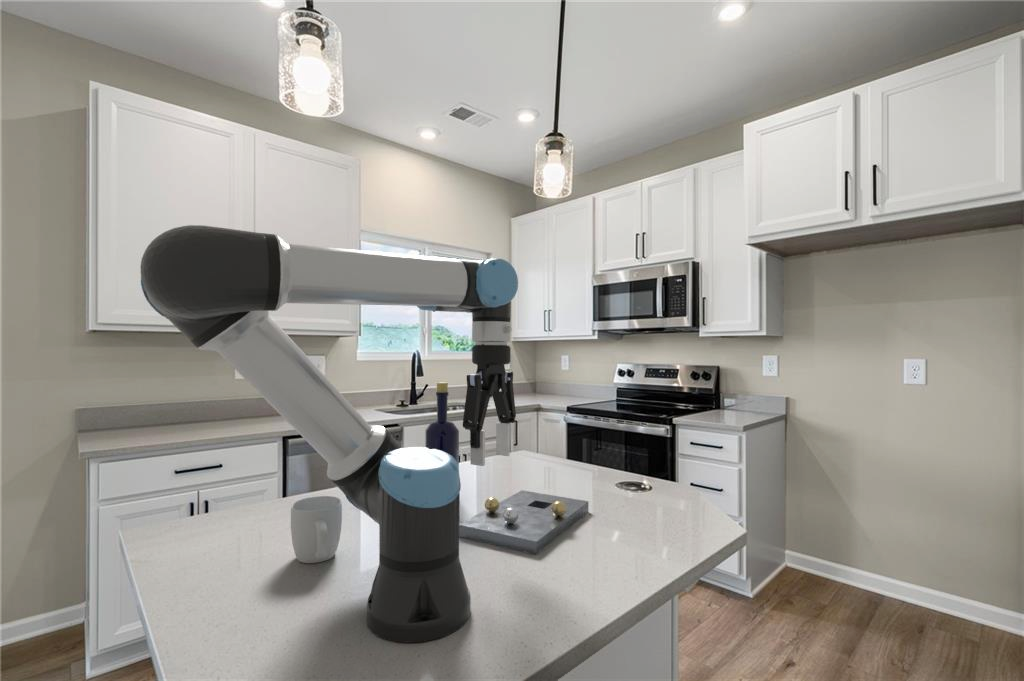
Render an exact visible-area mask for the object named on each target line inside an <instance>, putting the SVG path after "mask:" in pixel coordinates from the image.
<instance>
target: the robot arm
mask: <svg viewBox="0 0 1024 681" xmlns="http://www.w3.org/2000/svg"><path fill="white" fill-rule="evenodd" d="M518 277H519V276H518V274H517V271H516V269H515V267H513V265H512V264H511V263H510V262H509V261H507V260H505V259H503V258H499V257H498V258H486V259H483V260H473V259H472V260H471V259H457V258H450V257H438V256H426V255H418V254H416V255H415V254H404V253H394V252H385V251H384V252H383V251H372V250H371V251H370V250H360V249H347V248H336V247H328V246H327V247H326V246H315V245H304V244H293V243H286V242H285V241H284V240H283V239H282V238H281V237H280V236H278V234H275V233H262V232H256V231H248V230H240V229H234V228H228V227H227V228H226V227H225V228H224V227H219V226H218V227H217V226H211V225H210V226H209V225H202V224H201V225H199V224H198V225H196V224H195V225H193V224H189V225H183V226H178V227H173V228H171V229H167V230H166V231H163V232H162V233H161V234H159V235H158V236H156V237H155V238H153V240H152V241H151V242H150V243H149V244H148V245H147V247H146V249H145V250H144V252H143V255H142V257H141V261H140V286H141V290H142V293H143V296H144V297H145V300H146V301H147V303H148V304H149V305H150V306H151V308H153V310H154V311H155V312H157V313H158V314H159V315H160V316H162V317H165V319H167V320H169V321H170V322H171V323H172V325H173V326H174V327H175V328H177V330H179V332H181V333H182V334H183V335H184V336H185V337H186V338H187V339H188V340H189V342H190V343H192V344H193V346H194V347H196V348H197V349H198V350H202V351H203V350H204V351H213V352H217V353H218V354H219V355H221V357H223V359H224V360H225V361H226V362H227V363H228V364H230V366H231V367H232V368H233V369H234V370H235V371H237V373H238V374H239V375H240V376H241V377H242V378H243V379H244V380H245V381H246V382H247V383H248V384H249V385H250V386H251V387H252V388H253V389H254V390H255V391H256V392H257V393H258V394H259V395H261V397H262V398H263V399H264V400H265V401H266V402H267V403H268V404H269V405H270V406H271V407H272V408H273V409H274V410H275V411H276V412H277V413H278V414H279V415H280V416H281V417H282V418H283V419H284V420H285V421H286V422H287V423H288V424H289V425H290V426H291V427H292V428H293V429H294V430H295V431H296V432H297V433H298V435H300V436H301V437H302V438H303V439H304V440H305V441H306V442H307V444H309V446H311V447H312V448H313V450H315V451H316V452H317V453H318V455H320V456H321V457H322V458H323V460H325V461H326V462H327V467H326V468H327V470H326V475H327V477H328V479H329V480H330V481H331V482H332V483H333V484H334V485H335V486H336V487H337V488H338V489H340V491H341V493H343V494H344V496H345V498H346V500H348V502H349V503H350V504H352V505H353V507H355V508H356V509H358V510H360V511H362V512H363V513H364V514H365V515H367V516H368V517H369V518H371V519H372V520H373V521H374V522H375V523H377V524H378V527H379V533H378V534H379V539H378V540H379V542H378V543H379V544H378V546H379V548H378V549H379V553H378V554H379V558H378V560H379V563H378V567H377V570H376V572H375V576H374V580H373V583H372V586H371V590H370V593H369V596H368V598H367V602H366V610H365V611H366V613H365V614H366V616H365V617H366V618H365V620H366V625H367V627H368V629H369V630H370V631H371V632H372V633H374V635H376V636H378V637H379V638H382V639H384V640H388V641H392V642H396V643H398V642H399V643H422V642H427V641H429V642H430V641H433V640H437V639H440V638H443V637H445V636H448V635H450V634H452V633H454V632H455V631H457V630H458V629H460V628H461V627H462V626H464V624H466V622H467V621H468V619H469V617H470V615H471V603H472V602H471V599H472V598H471V592H470V589H469V587H468V584H467V581H466V578H465V574H464V571H463V567H462V563H461V560H460V537H459V524H460V496H461V495H460V491H461V488H462V484H461V478H460V466H459V467H458V463H457V462H456V460H455V459H454V458H453V457H452V456H451V455H450V454H448V453H446V452H444V451H441V450H437V449H429V448H426V447H425V446H408V447H407V446H406V447H402V445H401V444H400V443H399V442H398V441H397V440H396V439H395V437H394V436H393V435H392V433H390V432H389V431H388V430H387V429H386V427H384V425H380V424H377V425H376V424H370V423H368V422H367V421H366V419H365V418H364V417H363V416H362V415H361V414H360V412H358V411H357V410H356V408H354V406H353V405H352V404H351V403H350V402H349V401H348V400H347V399H346V397H345V396H344V395H343V394H342V393H341V392H340V391H339V390H338V389H337V388H336V386H335V385H334V384H333V383H332V382H331V381H330V380H329V379H328V378H327V376H325V374H324V373H323V372H322V371H321V370H320V369H319V368H318V367H317V365H316V364H315V363H313V360H311V359H310V358H309V356H307V355H306V353H305V352H304V351H303V350H302V349H301V348H300V347H299V346H298V345H297V343H296V342H294V341H293V339H292V338H291V337H290V336H289V335H288V333H286V331H284V329H283V328H282V327H281V326H280V325H279V324H278V323H277V321H275V319H274V318H273V317H272V316H271V315H270V312H276V311H278V310H279V309H281V308H282V307H283V306H284V305H285V304H305V305H306V304H310V305H313V304H314V305H352V306H353V305H355V306H356V305H357V306H358V305H359V306H360V305H364V306H366V305H367V306H408V307H409V306H413V307H415V306H416V307H417V308H418V309H419V310H422V311H432V312H433V313H435V312H447V313H448V312H449V313H451V312H452V313H471V318H472V320H471V322H472V324H471V326H472V327H471V341H472V343H474V345H473V346H472V347H471V362H472V363H473V364H474V365H476V366H477V368H476V372H475V373H474V374H472V373H471V374H470V373H469V374H468V373H467V375H466V386H467V387H466V394H465V402H464V409H463V410H464V411H463V419H462V427H463V428H464V429H465V430H468V431H469V432H470V433H469V440H470V442H469V444H470V446H469V447H470V465H473V466H480V467H484V466H485V465H486V430H485V429H483V426H484V423H485V419H486V415H487V411H488V406H489V404H490V403H489V402H490V398H492V399H493V402H494V406H495V411H496V415H497V419H498V422H495V424H496V426H495V427H496V430H495V434H496V436H495V437H496V438H495V455H496V456H501V457H510V449H511V448H510V444H511V443H510V442H511V441H510V440H511V439H510V434H511V433H510V427H511V426H510V425H511V424H514V423H515V422H516V418H517V415H516V412H517V411H516V403H515V394H514V393H515V392H514V372H513V371H509V370H508V371H507V370H506V367H505V365H510V363H511V346H510V345H508V343H510V342H511V331H512V327H511V316H512V315H511V312H512V311H511V308H512V305H511V304H512V300H513V299H515V296H516V295H517V292H518V288H519V278H518Z"/></svg>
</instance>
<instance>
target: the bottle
mask: <svg viewBox="0 0 1024 681" xmlns="http://www.w3.org/2000/svg"><path fill="white" fill-rule="evenodd" d="M448 388H449V387H448V382H445V381H444V382H440V381H439V382H436V392H435V397H436V421H432V422H430V423H429V424H428V426H427V427H426V428H425V430H424V447H426V448H429V449H437V450H441V451H444V452H446V453H448V454H450V455H451V456H452V457H453V458H454V459H455V460H456V462H457V463H458V467H459V468H460V464H459V463H460V459H459V458H460V457H459V456H460V451H459V450H460V437H459V436H460V430H459V429H458V427H457V426H456V424H455V423H454V422H452V421H450V420H448V396H449V391H448Z"/></svg>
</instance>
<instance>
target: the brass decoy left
mask: <svg viewBox="0 0 1024 681" xmlns="http://www.w3.org/2000/svg"><path fill="white" fill-rule="evenodd" d="M499 502H500V501H499V500H498V499H497V498H496V497H488V498H487V499H486V500H485V503H484V508H485V510H487V511H488V512H495V511H497V510H498V508H499Z"/></svg>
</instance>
